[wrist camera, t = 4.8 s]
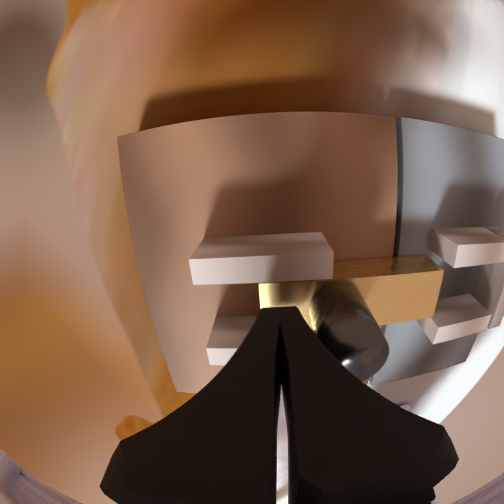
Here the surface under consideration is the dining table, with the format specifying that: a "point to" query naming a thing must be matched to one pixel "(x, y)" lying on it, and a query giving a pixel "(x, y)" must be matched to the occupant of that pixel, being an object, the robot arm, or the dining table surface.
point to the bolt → (361, 305)
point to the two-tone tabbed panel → (311, 225)
